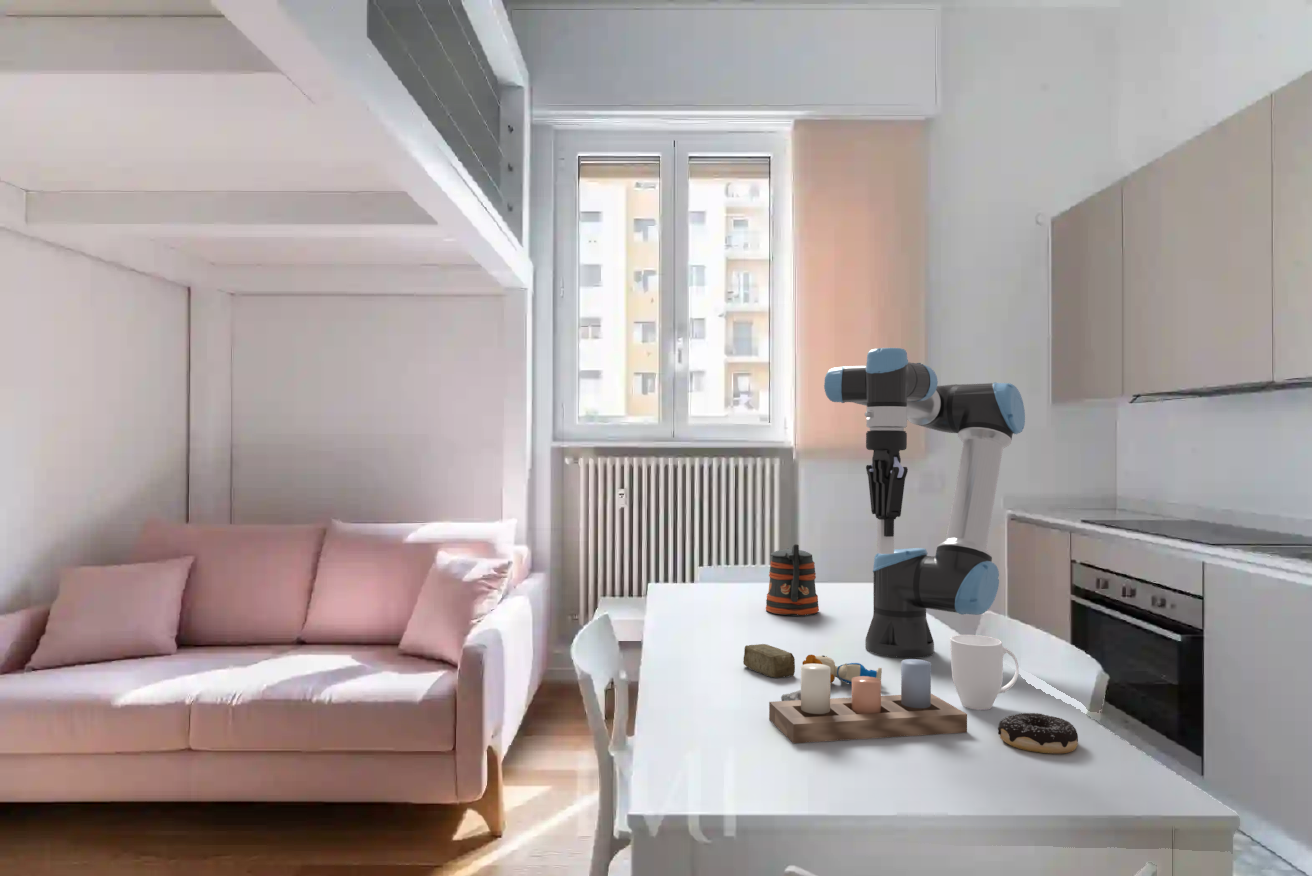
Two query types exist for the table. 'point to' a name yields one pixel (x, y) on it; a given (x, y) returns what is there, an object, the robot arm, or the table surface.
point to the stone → (791, 696)
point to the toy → (843, 669)
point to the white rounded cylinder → (815, 688)
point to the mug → (979, 669)
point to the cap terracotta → (866, 695)
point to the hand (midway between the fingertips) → (885, 553)
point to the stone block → (769, 660)
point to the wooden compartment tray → (866, 720)
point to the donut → (1038, 733)
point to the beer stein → (792, 583)
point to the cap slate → (916, 683)
